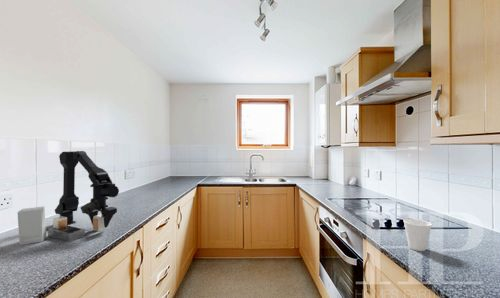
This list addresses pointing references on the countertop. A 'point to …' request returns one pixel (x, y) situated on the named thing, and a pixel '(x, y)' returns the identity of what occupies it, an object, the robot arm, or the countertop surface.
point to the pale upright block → (98, 223)
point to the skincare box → (31, 225)
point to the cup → (417, 233)
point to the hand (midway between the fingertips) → (99, 226)
